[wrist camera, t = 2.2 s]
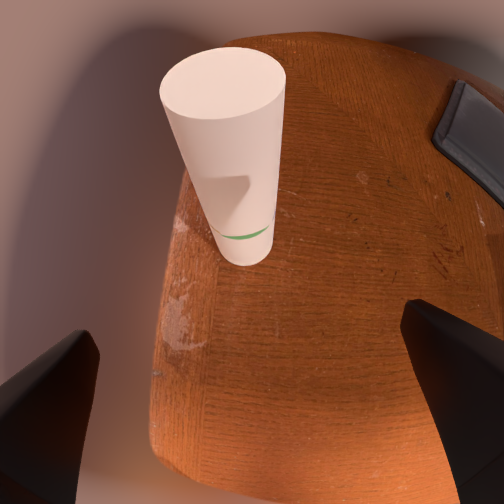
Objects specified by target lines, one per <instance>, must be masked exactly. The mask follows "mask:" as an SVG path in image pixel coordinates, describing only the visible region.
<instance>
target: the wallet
mask: <svg viewBox="0 0 504 504" xmlns="http://www.w3.org/2000/svg"><path fill="white" fill-rule="evenodd" d="M432 142H433V143H434V145H435V146H436V148H437V149H438V150H439V151H440V152H442V153H443V154H444V155H445V156H446V157H448V158H449V159H450V160H451V161H452V162H454V163H455V164H456V165H457V166H459V167H460V168H461V169H462V170H464V171H465V172H466V173H467V174H468V175H469V176H471V177H472V178H473V179H474V180H475V181H476V182H477V183H479V184H480V185H481V186H482V187H483V188H484V189H485V190H486V191H487V192H488V193H489V194H490V195H491V196H492V197H493V198H494V199H495V200H496V201H497V202H498V203H499V204H500V205H501V206H502V207H503V208H504V113H502V112H501V111H500V110H499V109H498V108H497V107H496V106H495V105H493V104H492V103H491V102H490V101H489V100H487V99H486V98H485V97H484V96H483V95H481V94H480V93H479V92H478V91H476V90H475V89H474V88H472V87H471V86H470V85H468V84H467V83H466V82H464V81H461V80H459V79H458V80H457V82H456V84H455V86H454V89H453V91H452V94H451V97H450V99H449V102H448V105H447V107H446V109H445V111H444V114H443V116H442V118H441V120H440V122H439V124H438V126H437V128H436V129H435V131H434V134H433V138H432Z"/></svg>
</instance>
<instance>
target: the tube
mask: <svg viewBox="0 0 504 504" xmlns="http://www.w3.org/2000/svg"><path fill="white" fill-rule="evenodd" d="M285 81H286V75H285V72H284V69H283V68H282V66H281V65H280V64H279V62H277V61H276V60H275V59H274V58H272V57H270V56H269V55H267V54H265V53H262V52H259V51H256V50H252V49H247V48H238V47H226V48H218V49H212V50H208V51H203V52H201V53H198V54H195V55H192V56H190V57H188V58H186V59H184V60H183V61H181V62H180V63H178V64H176V65H175V66H174V67H173V68H172V69H171V70H170V71H169V72H168V73H167V74H166V75H165V77H164V79H163V80H162V83H161V86H160V90H159V92H160V98H161V101H162V104H163V106H164V109H165V112H166V114H167V117H168V120H169V123H170V125H171V128H172V131H173V134H174V136H175V139H176V141H177V144H178V147H179V149H180V152H181V155H182V157H183V160H184V162H185V165H186V168H187V170H188V173H189V176H190V178H191V181H192V183H193V186H194V188H195V191H196V194H197V196H198V199H199V201H200V204H201V206H202V209H203V211H204V214H205V216H206V219H207V221H208V224H209V226H210V229H211V231H212V234H213V236H214V238H215V241H216V243H217V246H218V248H219V250H220V252H221V254H222V255H223V257H224V258H225V259H227V260H228V261H229V262H231V263H233V264H236V265H240V266H248V265H253V264H256V263H258V262H260V261H261V260H263V259H264V258H265V257H266V256H267V255H268V253H269V252H270V250H271V247H272V243H273V232H274V222H275V210H276V200H277V189H278V177H279V165H280V152H281V139H282V125H283V111H284V96H285Z"/></svg>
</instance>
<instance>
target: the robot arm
mask: <svg viewBox="0 0 504 504" xmlns="http://www.w3.org/2000/svg"><path fill="white" fill-rule="evenodd" d="M400 329H401V333H402V336H403V339H404V342H405V345H406V348H407V351H408V354H409V357H410V360H411V363H412V366H413V369H414V372H415V375H416V377H417V380H418V382H419V385H420V387H421V389H422V392H423V394H424V396H425V399H426V401H427V404H428V406H429V409H430V411H431V414H432V416H433V419H434V422H435V424H436V427H437V430H438V432H439V435H440V438H441V441H442V444H443V447H444V449H445V452H446V455H447V458H448V462H449V465H450V468H451V471H452V474H453V478H454V481H455V484H456V488H457V492H458V496H459V500H460V504H504V341H502V340H500V339H498V338H497V337H495V336H493V335H491V334H489V333H487V332H485V331H483V330H481V329H479V328H477V327H475V326H473V325H471V324H470V323H468V322H466V321H464V320H462V319H460V318H458V317H456V316H454V315H452V314H450V313H448V312H446V311H444V310H442V309H440V308H438V307H436V306H434V305H432V304H430V303H428V302H426V301H424V300H421V299H414V300H409V301H408V302H407V303H406V304H405V308H404V312H403V316H402V320H401V324H400ZM99 361H100V353H99V350H98V348H97V346H96V344H95V342H94V340H93V338H92V336H91V334H90V333H89V332H88V331H87V330H75V331H74V332H72V333H71V334H69V335H68V336H67V337H65V338H64V339H62V340H61V341H60V342H58V343H57V344H56V345H54V346H53V347H51V348H50V349H49V350H47V351H46V352H45V353H43V354H42V355H40V356H39V357H38V358H36V359H35V360H34V361H32V362H31V363H30V364H28V365H27V366H26V367H25V368H23V369H22V370H20V371H19V372H18V373H16V374H15V375H14V376H13V377H11V378H10V379H9V380H8V381H6V382H5V383H3V384H2V385H1V386H0V504H75V501H76V492H77V484H78V477H79V470H80V464H81V458H82V451H83V446H84V441H85V436H86V431H87V426H88V422H89V417H90V412H91V409H92V404H93V399H94V392H95V385H96V379H97V372H98V366H99Z"/></svg>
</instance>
